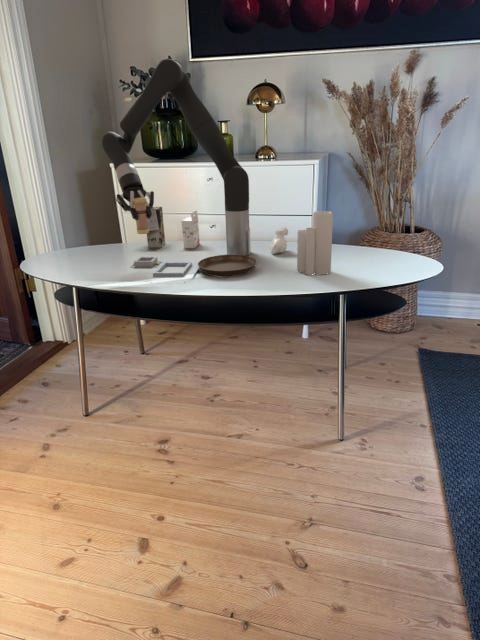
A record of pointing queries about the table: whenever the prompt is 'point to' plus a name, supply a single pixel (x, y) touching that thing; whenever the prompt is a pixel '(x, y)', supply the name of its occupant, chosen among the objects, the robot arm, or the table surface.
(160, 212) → the coffee box
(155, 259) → the fuse block
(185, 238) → the ink cartridge box
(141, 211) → the cylinder
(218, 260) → the plant saucer
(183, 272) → the parts tray
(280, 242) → the bust
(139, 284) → the table surface
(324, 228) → the vase
